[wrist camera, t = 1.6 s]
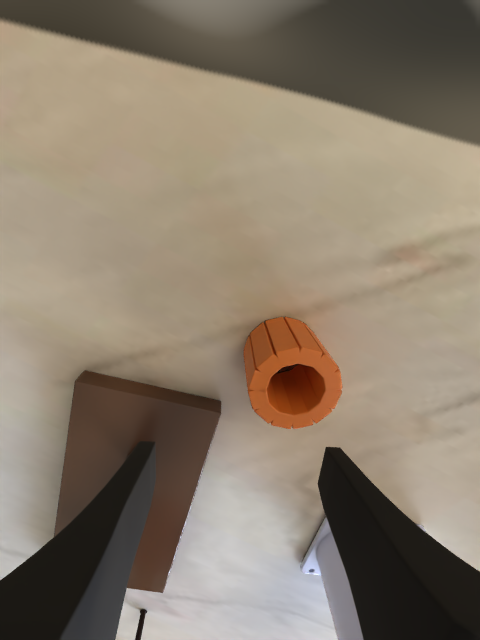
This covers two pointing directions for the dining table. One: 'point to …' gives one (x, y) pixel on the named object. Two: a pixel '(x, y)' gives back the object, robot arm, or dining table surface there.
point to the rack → (117, 444)
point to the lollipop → (140, 625)
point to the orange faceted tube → (290, 374)
